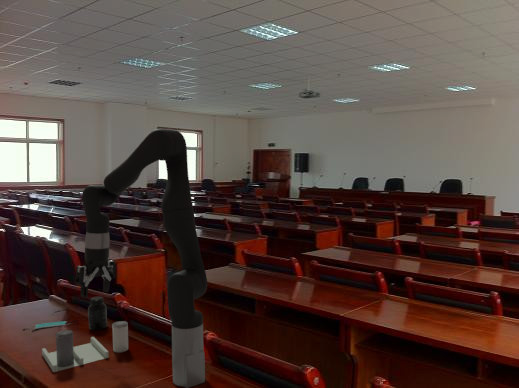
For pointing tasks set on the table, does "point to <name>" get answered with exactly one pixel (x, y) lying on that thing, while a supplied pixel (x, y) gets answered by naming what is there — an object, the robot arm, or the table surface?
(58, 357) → the grey cylinder
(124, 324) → the white cylinder
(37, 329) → the surgical mask
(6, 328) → the table surface
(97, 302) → the supplement bottle
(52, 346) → the table surface
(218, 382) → the table surface
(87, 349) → the divided tray
